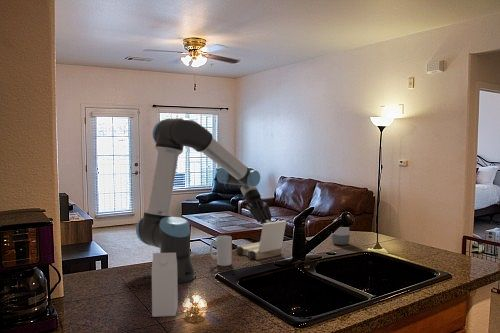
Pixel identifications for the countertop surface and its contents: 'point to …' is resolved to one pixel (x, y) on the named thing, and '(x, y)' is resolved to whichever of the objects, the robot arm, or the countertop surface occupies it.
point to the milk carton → (164, 284)
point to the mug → (222, 250)
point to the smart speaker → (341, 236)
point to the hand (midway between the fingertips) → (272, 232)
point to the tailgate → (272, 236)
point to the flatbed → (255, 251)
